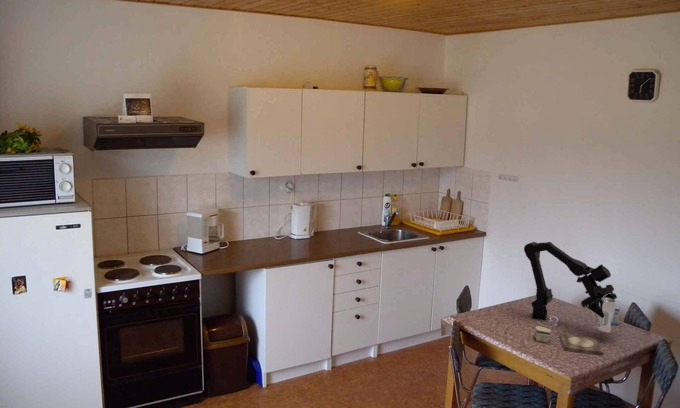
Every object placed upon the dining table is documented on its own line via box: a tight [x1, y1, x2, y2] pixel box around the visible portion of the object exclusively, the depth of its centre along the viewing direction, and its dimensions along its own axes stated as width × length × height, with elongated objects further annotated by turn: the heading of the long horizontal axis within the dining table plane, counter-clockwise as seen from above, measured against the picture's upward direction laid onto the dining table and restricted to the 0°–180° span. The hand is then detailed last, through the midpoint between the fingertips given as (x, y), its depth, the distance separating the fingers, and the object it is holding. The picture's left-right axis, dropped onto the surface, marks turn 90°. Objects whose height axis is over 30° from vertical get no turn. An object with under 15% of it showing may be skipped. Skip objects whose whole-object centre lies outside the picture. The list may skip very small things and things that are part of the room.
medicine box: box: [611, 305, 621, 326], centre depth 289 cm, size 8×4×9 cm, turn 62°
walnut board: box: [559, 333, 604, 356], centre depth 259 cm, size 16×16×2 cm
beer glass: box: [596, 297, 617, 333], centre depth 266 cm, size 7×7×15 cm
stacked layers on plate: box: [534, 325, 552, 343], centre depth 264 cm, size 10×9×6 cm
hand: (608, 316), depth 265 cm, fingers closed on beer glass, 7 cm apart
